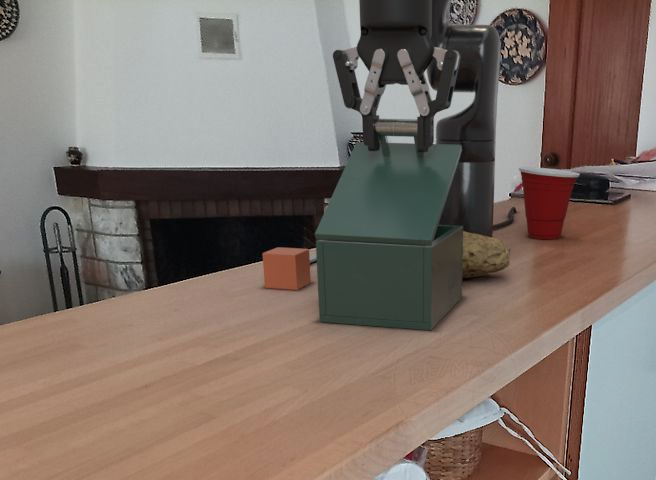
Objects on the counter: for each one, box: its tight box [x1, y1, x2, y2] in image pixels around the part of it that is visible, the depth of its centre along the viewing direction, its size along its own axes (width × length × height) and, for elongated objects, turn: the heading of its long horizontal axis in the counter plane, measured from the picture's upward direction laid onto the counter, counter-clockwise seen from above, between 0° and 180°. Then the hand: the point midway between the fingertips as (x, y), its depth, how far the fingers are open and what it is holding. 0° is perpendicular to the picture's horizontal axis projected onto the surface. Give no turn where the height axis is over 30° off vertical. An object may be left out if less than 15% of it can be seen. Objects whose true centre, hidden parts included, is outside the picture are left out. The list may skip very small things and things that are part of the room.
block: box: [262, 246, 312, 291], centre depth 101 cm, size 4×4×4 cm
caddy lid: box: [314, 118, 462, 246], centre depth 84 cm, size 16×13×5 cm
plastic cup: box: [518, 166, 581, 240], centre depth 140 cm, size 11×11×12 cm
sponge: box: [462, 231, 511, 279], centre depth 107 cm, size 13×8×20 cm
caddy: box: [315, 225, 463, 331], centre depth 90 cm, size 16×13×9 cm
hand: (398, 150), depth 87 cm, fingers closed on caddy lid, 5 cm apart
